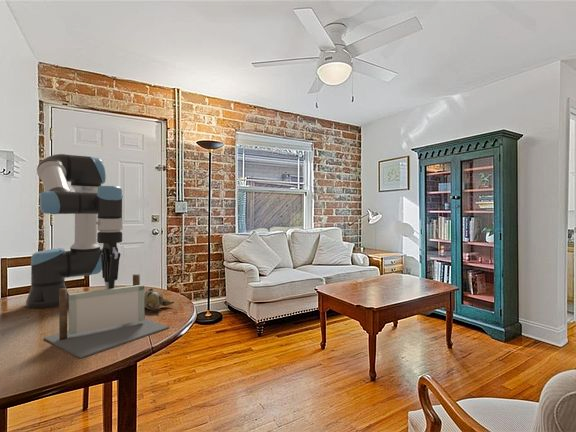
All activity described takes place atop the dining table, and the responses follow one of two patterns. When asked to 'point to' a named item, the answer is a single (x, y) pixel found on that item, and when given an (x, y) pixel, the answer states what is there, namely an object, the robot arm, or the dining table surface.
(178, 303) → the dining table surface
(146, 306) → the ceramic sculpture
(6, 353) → the dining table surface
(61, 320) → the gate posts
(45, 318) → the dining table surface
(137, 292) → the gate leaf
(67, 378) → the dining table surface
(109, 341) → the mat
